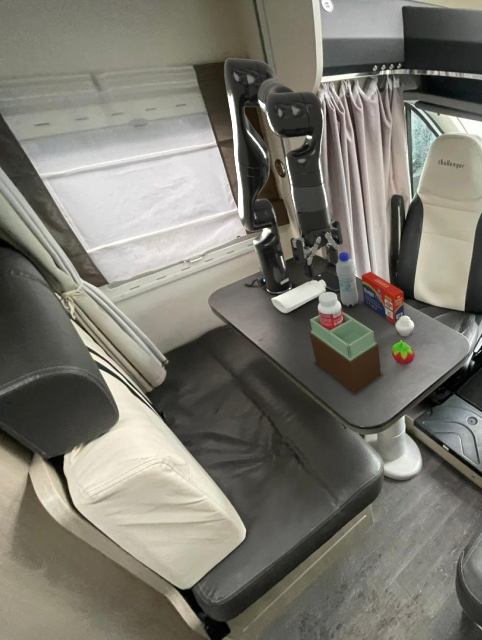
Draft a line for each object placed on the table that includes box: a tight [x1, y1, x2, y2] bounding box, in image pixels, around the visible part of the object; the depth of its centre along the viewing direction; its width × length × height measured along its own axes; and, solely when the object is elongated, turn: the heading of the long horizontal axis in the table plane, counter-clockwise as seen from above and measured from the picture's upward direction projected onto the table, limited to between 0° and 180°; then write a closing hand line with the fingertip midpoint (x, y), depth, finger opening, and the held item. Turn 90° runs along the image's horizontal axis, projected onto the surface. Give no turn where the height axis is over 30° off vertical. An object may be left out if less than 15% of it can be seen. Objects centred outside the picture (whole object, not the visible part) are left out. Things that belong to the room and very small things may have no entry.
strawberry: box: [391, 339, 415, 366], centre depth 107 cm, size 6×7×10 cm
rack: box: [308, 311, 382, 395], centre depth 103 cm, size 18×10×17 cm, turn 47°
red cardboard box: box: [361, 271, 405, 326], centre depth 127 cm, size 18×4×12 cm, turn 42°
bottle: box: [335, 251, 359, 307], centre depth 128 cm, size 7×7×20 cm
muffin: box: [394, 315, 415, 338], centre depth 119 cm, size 6×6×7 cm
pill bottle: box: [317, 291, 344, 331], centre depth 98 cm, size 6×6×11 cm
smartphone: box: [311, 271, 340, 293], centre depth 145 cm, size 8×1×15 cm
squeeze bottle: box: [270, 280, 327, 314], centre depth 134 cm, size 10×20×5 cm, turn 139°
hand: (322, 269), depth 91 cm, fingers open, 8 cm apart
